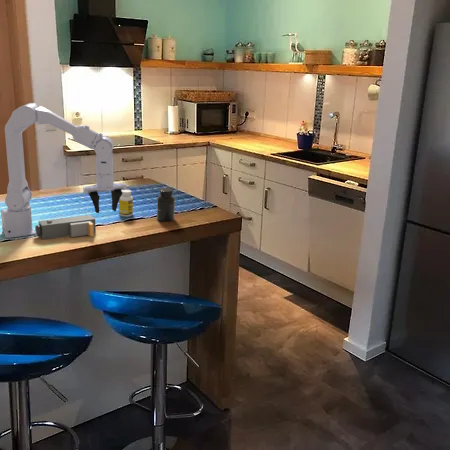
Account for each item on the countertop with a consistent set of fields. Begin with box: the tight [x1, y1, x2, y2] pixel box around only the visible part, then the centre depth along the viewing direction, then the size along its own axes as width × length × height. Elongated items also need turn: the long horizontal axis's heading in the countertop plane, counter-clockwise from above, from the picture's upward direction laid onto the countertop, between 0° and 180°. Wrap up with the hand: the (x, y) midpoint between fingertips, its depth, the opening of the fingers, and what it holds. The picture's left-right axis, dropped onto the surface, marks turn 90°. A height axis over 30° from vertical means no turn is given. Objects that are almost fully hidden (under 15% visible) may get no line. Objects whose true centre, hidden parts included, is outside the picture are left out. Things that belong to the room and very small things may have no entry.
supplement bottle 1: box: [118, 189, 134, 218], centre depth 195 cm, size 5×5×10 cm
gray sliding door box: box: [34, 214, 97, 241], centre depth 172 cm, size 19×5×6 cm, turn 122°
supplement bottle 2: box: [156, 187, 176, 223], centre depth 192 cm, size 7×7×12 cm
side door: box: [69, 221, 95, 238], centre depth 171 cm, size 7×4×4 cm, turn 122°
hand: (105, 211), depth 173 cm, fingers open, 5 cm apart
